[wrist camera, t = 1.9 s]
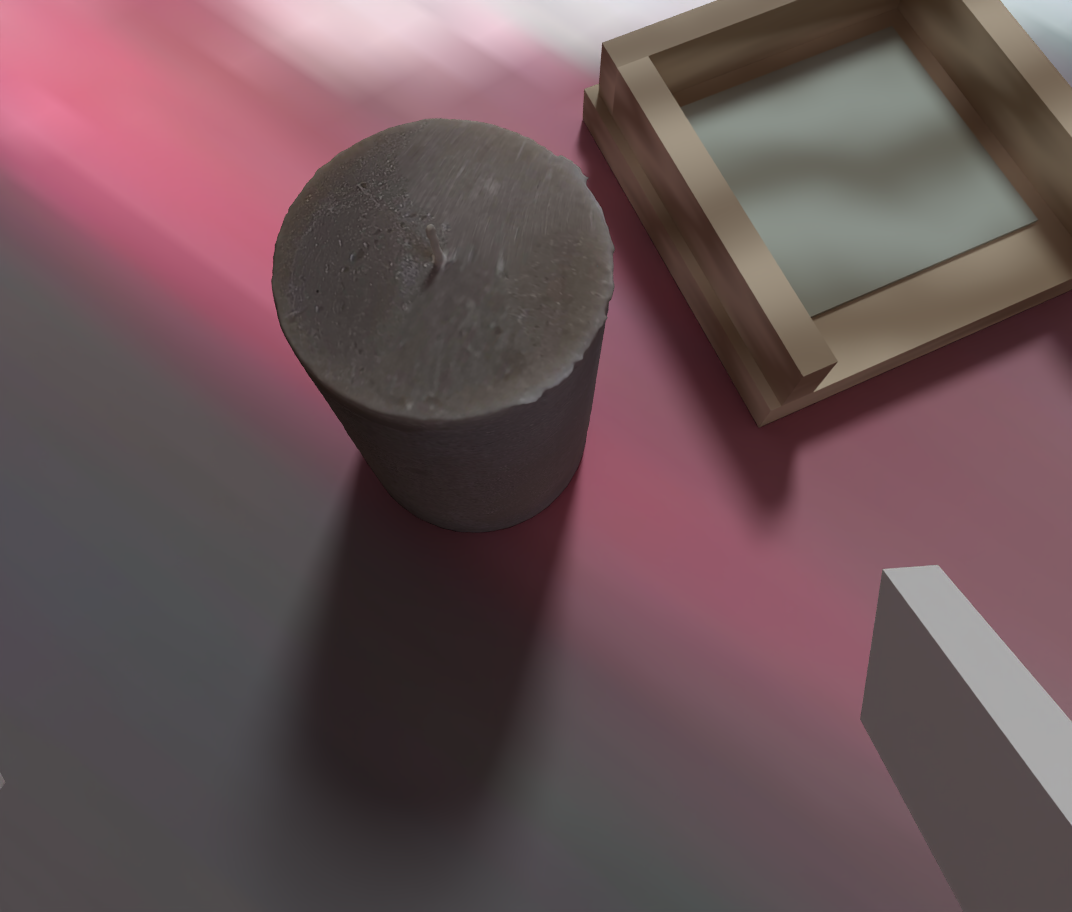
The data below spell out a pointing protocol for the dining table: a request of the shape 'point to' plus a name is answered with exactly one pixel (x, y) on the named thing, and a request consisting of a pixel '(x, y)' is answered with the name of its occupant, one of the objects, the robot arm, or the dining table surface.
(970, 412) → the dining table surface
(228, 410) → the dining table surface
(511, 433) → the pillar candle
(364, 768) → the dining table surface
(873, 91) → the wooden tray
